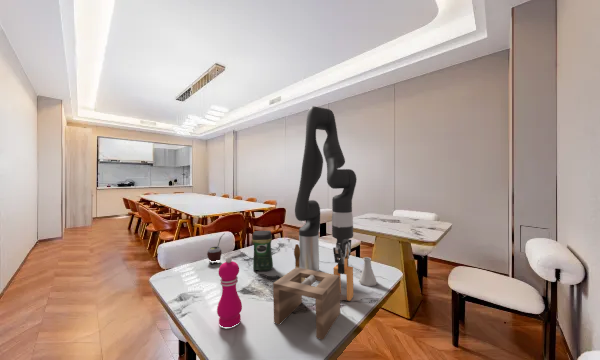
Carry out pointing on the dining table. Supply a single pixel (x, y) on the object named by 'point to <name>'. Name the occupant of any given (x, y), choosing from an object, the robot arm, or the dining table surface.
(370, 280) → the flask
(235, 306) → the pepper mill
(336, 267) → the stepped orange block
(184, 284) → the dining table surface
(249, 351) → the dining table surface
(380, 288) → the dining table surface
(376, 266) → the dining table surface
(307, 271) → the brown square frame
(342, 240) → the robot arm
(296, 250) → the hand bell
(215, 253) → the mate gourd
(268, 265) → the coffee jar
